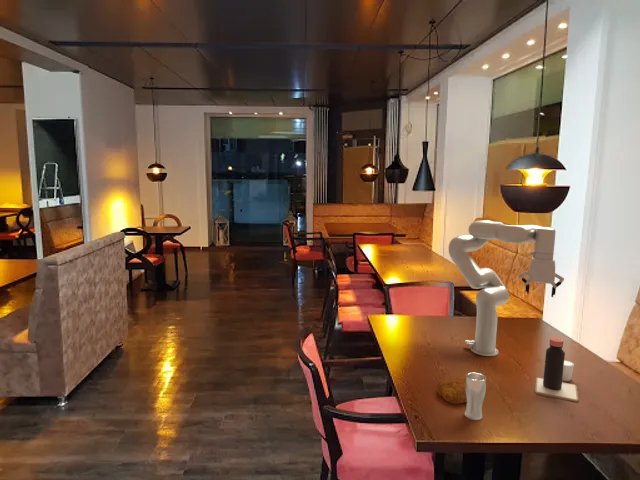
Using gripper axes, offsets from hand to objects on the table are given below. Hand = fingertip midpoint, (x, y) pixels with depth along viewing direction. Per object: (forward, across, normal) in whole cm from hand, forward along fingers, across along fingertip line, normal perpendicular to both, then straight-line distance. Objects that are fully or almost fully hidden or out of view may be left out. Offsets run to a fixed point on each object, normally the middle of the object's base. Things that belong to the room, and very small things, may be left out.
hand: (539, 294), depth 204 cm
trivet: (+34, +9, -17) cm, 39 cm away
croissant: (+35, -26, -41) cm, 60 cm away
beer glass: (+34, -18, -54) cm, 67 cm away
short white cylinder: (+34, +12, -3) cm, 37 cm away
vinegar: (+34, +8, -16) cm, 38 cm away
